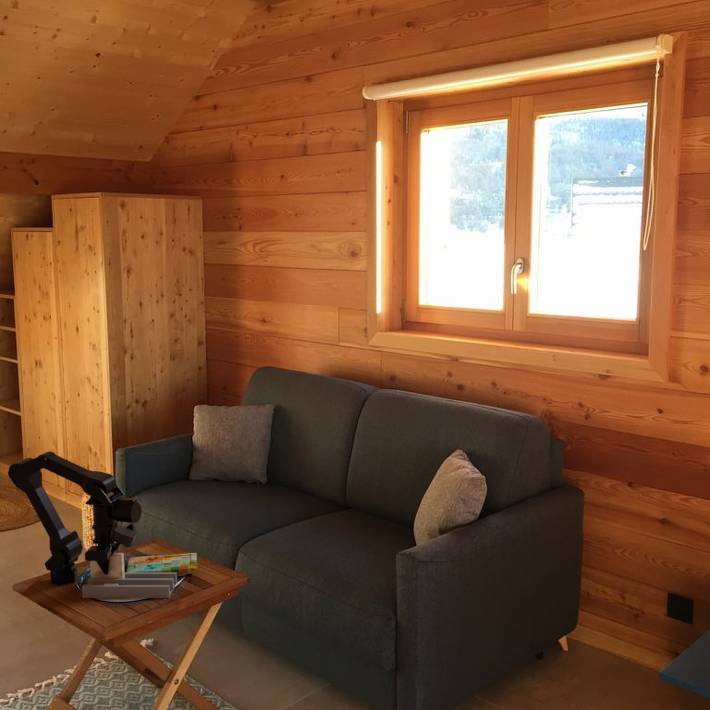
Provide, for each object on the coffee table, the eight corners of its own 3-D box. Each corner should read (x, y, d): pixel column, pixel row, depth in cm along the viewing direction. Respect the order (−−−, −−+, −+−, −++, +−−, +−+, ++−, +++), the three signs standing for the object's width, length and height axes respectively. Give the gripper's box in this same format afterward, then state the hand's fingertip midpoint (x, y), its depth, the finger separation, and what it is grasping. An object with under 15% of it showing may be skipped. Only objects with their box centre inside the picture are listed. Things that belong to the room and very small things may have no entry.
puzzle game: (128, 555, 264) (196, 550, 267) (129, 570, 264) (197, 564, 268) (126, 571, 252) (196, 565, 256) (126, 586, 253) (197, 580, 257)
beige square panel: (91, 585, 248) (89, 555, 247) (93, 582, 250) (91, 552, 249) (123, 585, 248) (121, 555, 246) (125, 582, 250) (123, 552, 248)
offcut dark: (86, 594, 244) (85, 585, 243) (88, 590, 246) (88, 582, 246) (100, 594, 244) (100, 585, 243) (103, 590, 246) (102, 582, 245)
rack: (82, 602, 242) (81, 587, 241) (93, 587, 252) (92, 572, 251) (169, 602, 241) (168, 587, 241) (177, 587, 251) (176, 572, 251)
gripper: (123, 531, 236) (126, 586, 239) (141, 508, 255) (144, 559, 257) (82, 531, 237) (85, 586, 239) (103, 508, 255) (106, 559, 258)
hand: (107, 572), depth 248 cm, fingers closed on beige square panel, 2 cm apart
